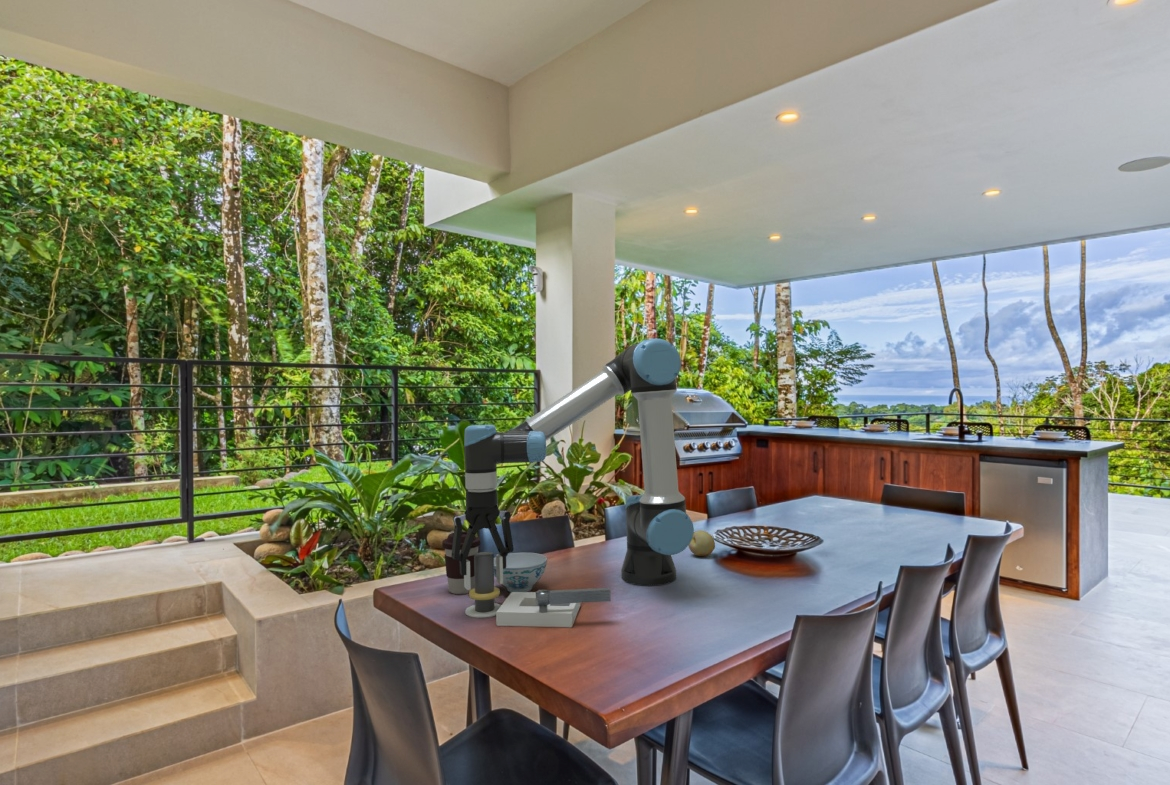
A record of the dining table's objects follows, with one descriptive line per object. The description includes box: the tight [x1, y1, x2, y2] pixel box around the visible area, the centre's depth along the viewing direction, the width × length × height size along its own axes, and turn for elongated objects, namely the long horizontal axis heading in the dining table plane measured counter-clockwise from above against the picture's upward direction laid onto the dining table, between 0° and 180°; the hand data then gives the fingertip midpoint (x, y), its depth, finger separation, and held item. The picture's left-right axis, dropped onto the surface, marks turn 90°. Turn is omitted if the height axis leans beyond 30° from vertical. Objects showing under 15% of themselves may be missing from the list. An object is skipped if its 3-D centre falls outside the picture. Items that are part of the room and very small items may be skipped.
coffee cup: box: [441, 530, 481, 595], centre depth 159 cm, size 10×10×15 cm
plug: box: [468, 551, 501, 612], centre depth 143 cm, size 7×7×13 cm
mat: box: [464, 602, 502, 619], centre depth 143 cm, size 9×9×1 cm
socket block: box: [495, 591, 582, 628], centre depth 139 cm, size 17×14×4 cm
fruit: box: [687, 530, 716, 557], centre depth 187 cm, size 8×8×8 cm
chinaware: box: [494, 552, 548, 593], centre depth 159 cm, size 15×15×8 cm
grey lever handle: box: [535, 587, 612, 606], centre depth 134 cm, size 17×3×2 cm, turn 94°
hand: (483, 585), depth 143 cm, fingers open, 7 cm apart
